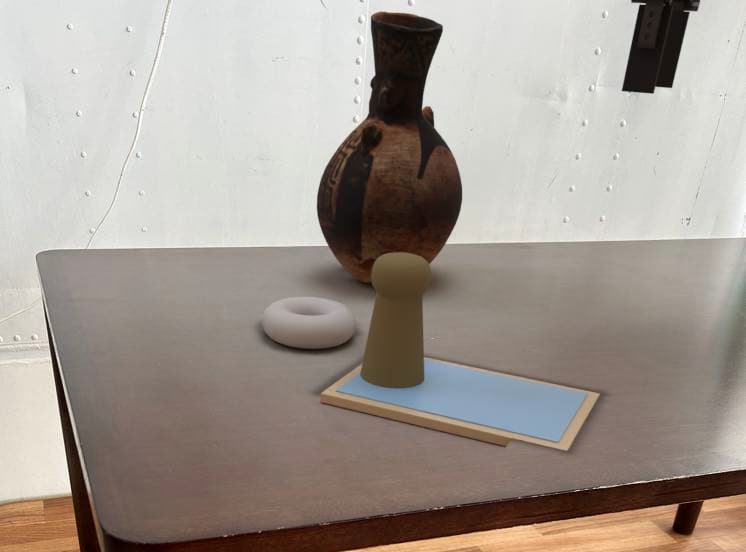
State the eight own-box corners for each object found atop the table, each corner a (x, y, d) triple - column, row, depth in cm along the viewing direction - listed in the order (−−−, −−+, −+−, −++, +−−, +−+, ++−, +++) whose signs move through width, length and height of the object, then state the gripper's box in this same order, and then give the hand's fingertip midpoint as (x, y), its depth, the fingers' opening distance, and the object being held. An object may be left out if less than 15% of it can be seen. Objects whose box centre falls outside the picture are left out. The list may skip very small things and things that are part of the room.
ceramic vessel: (372, 254, 120) (388, 13, 104) (478, 276, 112) (513, 19, 96) (284, 281, 106) (287, 5, 89) (399, 310, 98) (425, 12, 81)
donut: (370, 335, 90) (290, 316, 93) (372, 303, 88) (291, 286, 91) (328, 362, 82) (243, 341, 85) (331, 328, 80) (244, 308, 83)
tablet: (598, 402, 76) (600, 392, 75) (565, 461, 65) (567, 449, 65) (382, 356, 84) (382, 347, 83) (320, 402, 73) (320, 391, 72)
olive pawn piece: (347, 376, 75) (354, 254, 70) (382, 359, 80) (391, 243, 74) (403, 393, 73) (415, 267, 67) (436, 375, 77) (450, 255, 71)
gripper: (682, -173, 78) (629, 82, 89) (644, -247, 58) (582, 91, 70) (767, -176, 75) (701, 87, 86) (757, -253, 56) (673, 98, 67)
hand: (648, 90), depth 78 cm, fingers open, 13 cm apart
